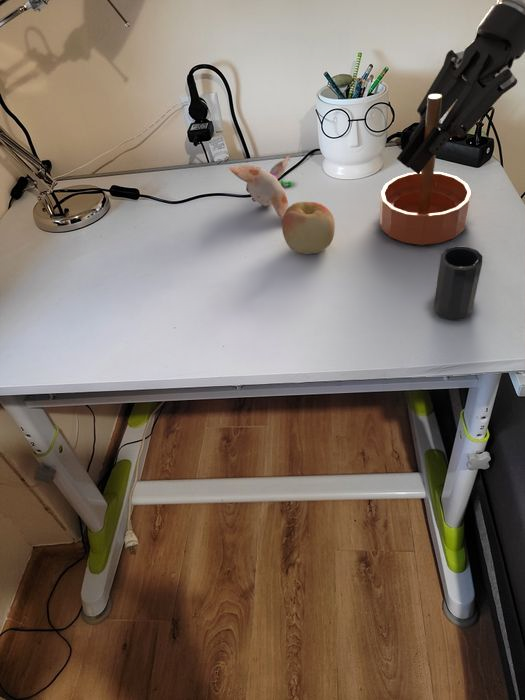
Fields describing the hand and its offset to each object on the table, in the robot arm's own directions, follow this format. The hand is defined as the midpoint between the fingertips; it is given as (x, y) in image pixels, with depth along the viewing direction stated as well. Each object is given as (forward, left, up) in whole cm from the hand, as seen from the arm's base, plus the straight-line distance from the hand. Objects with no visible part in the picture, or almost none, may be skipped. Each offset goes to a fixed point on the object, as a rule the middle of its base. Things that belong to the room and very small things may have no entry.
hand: (407, 166), depth 80 cm
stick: (-1, -4, -10) cm, 11 cm away
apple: (+10, +13, -12) cm, 20 cm away
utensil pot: (-17, +12, -12) cm, 24 cm away
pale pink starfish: (+27, +6, -12) cm, 30 cm away
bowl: (-1, -4, -12) cm, 12 cm away
